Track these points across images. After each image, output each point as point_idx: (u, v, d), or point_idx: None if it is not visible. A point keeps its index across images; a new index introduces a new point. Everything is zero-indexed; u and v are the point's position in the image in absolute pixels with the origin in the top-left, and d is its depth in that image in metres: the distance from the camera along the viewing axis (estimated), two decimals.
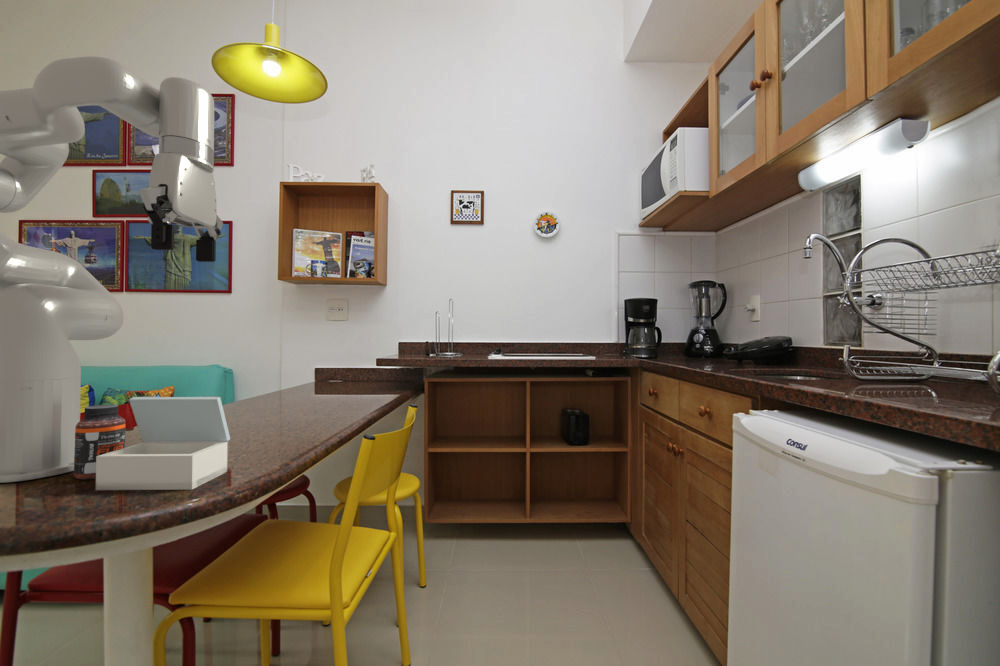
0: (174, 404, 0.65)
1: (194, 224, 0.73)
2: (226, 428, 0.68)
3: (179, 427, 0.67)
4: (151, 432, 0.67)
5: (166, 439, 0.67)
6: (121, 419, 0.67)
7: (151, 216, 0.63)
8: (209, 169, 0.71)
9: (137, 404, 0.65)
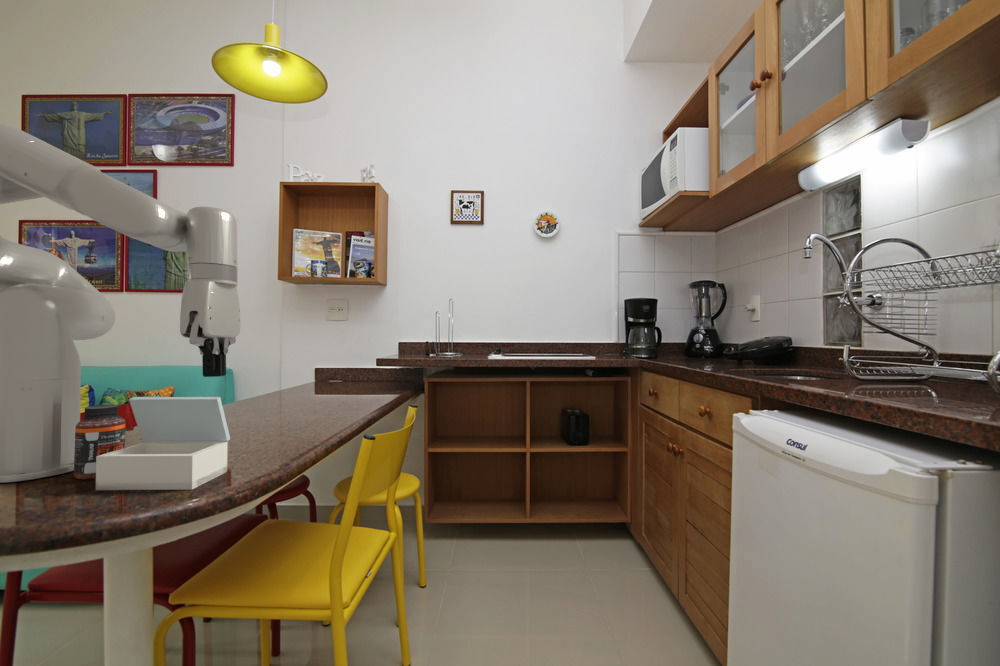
0: (174, 404, 0.65)
1: None
2: (226, 428, 0.68)
3: (179, 427, 0.67)
4: (151, 432, 0.67)
5: (166, 439, 0.67)
6: (121, 419, 0.67)
7: (203, 350, 0.72)
8: (233, 285, 0.76)
9: (137, 404, 0.65)
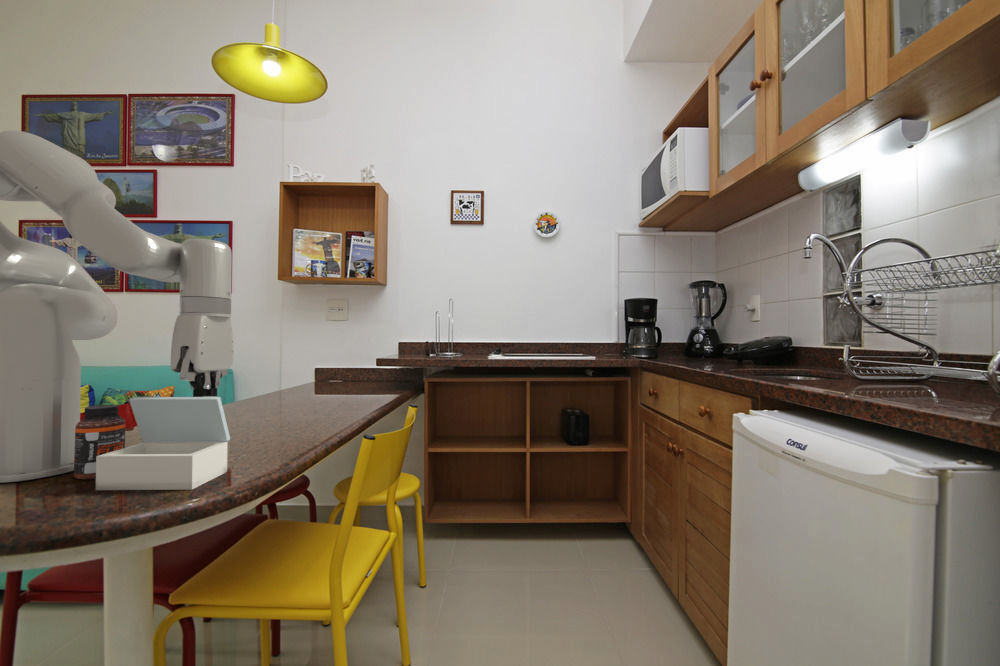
0: (174, 404, 0.65)
1: None
2: (226, 428, 0.68)
3: (179, 427, 0.67)
4: (151, 432, 0.67)
5: (166, 439, 0.67)
6: (121, 419, 0.67)
7: (194, 385, 0.70)
8: (227, 316, 0.74)
9: (137, 404, 0.65)
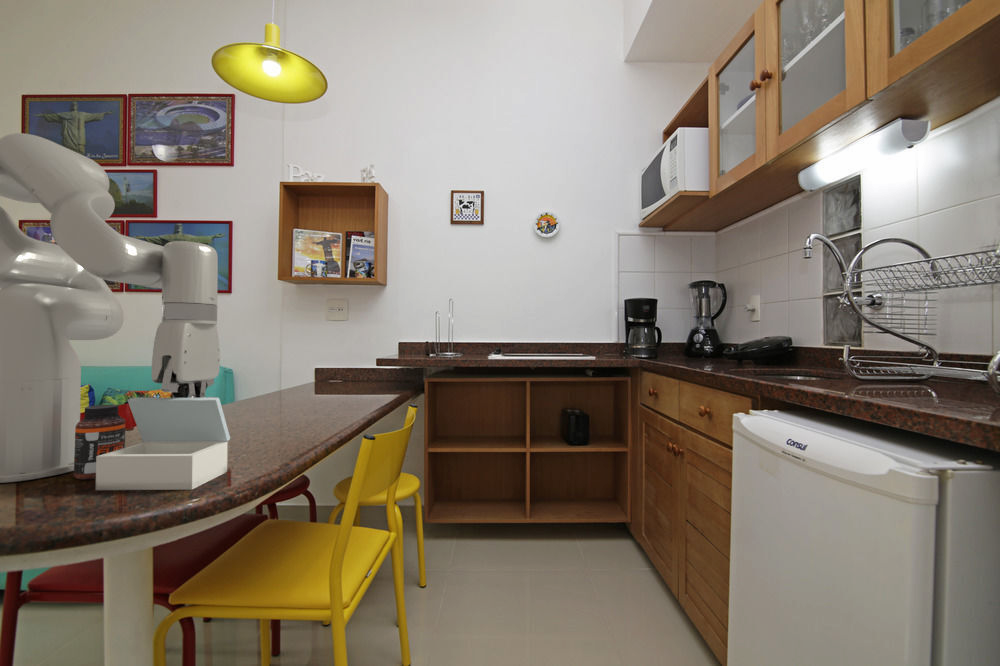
0: (173, 405, 0.65)
1: None
2: (226, 428, 0.68)
3: (178, 428, 0.67)
4: (151, 432, 0.67)
5: (166, 439, 0.67)
6: (121, 419, 0.67)
7: (177, 396, 0.66)
8: (213, 323, 0.71)
9: (136, 405, 0.65)
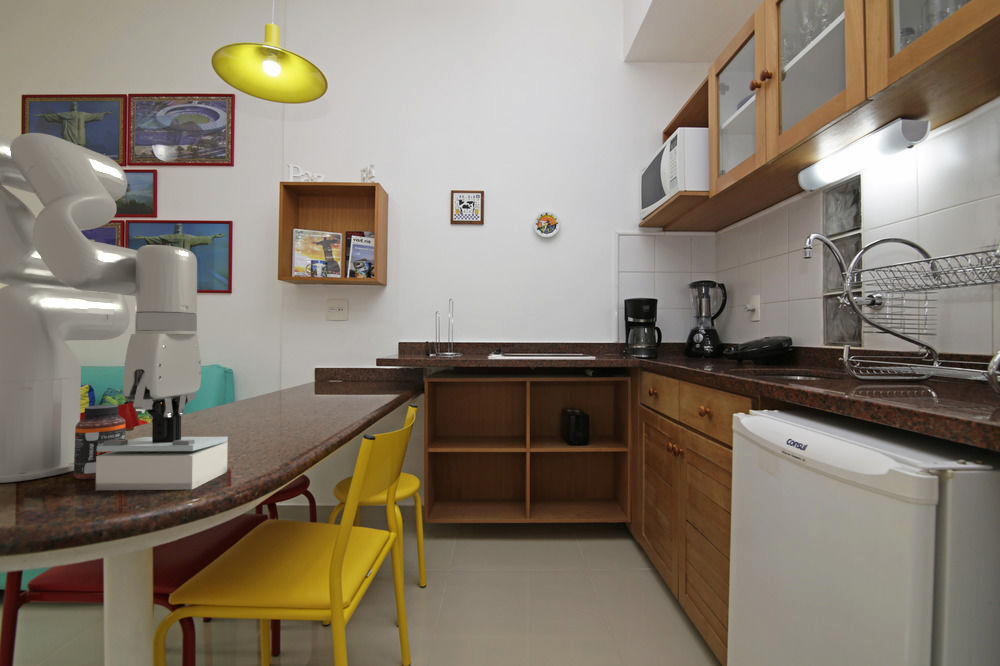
0: None
1: None
2: (218, 440, 0.66)
3: None
4: None
5: None
6: (121, 419, 0.67)
7: (152, 413, 0.61)
8: (192, 333, 0.65)
9: None
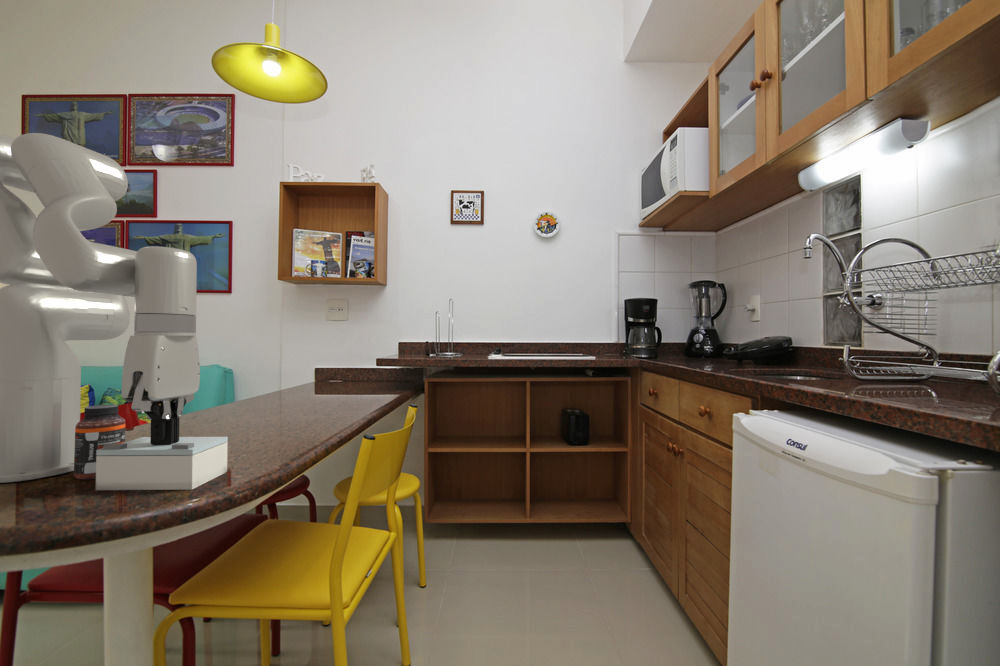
0: None
1: None
2: (218, 441, 0.66)
3: None
4: None
5: None
6: (121, 419, 0.67)
7: (150, 415, 0.61)
8: (191, 335, 0.65)
9: None
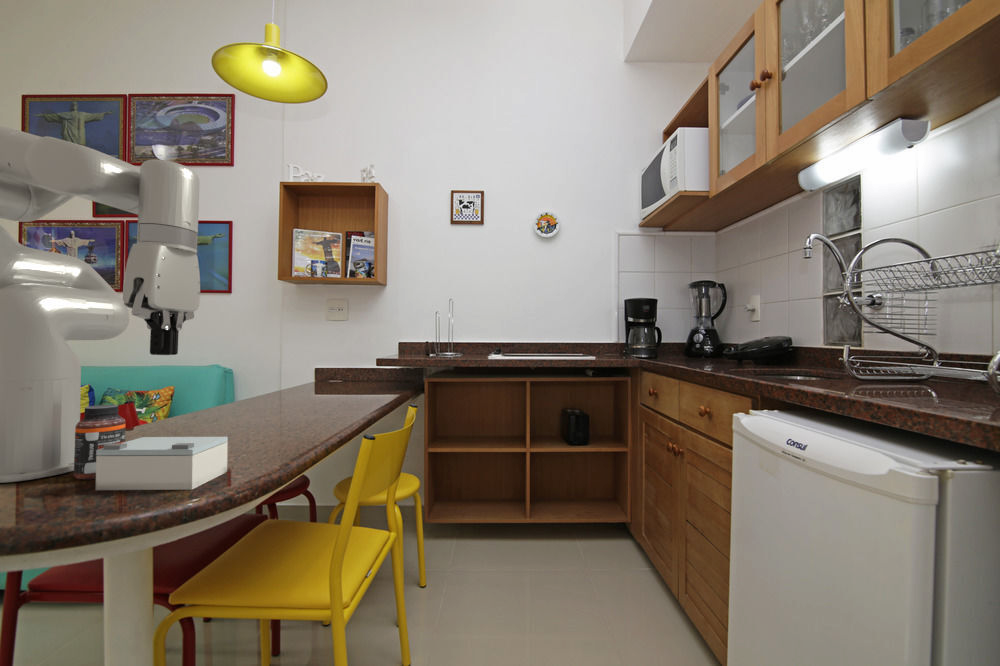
0: None
1: None
2: (218, 441, 0.66)
3: None
4: None
5: None
6: (121, 419, 0.67)
7: (150, 324, 0.63)
8: (192, 252, 0.67)
9: None
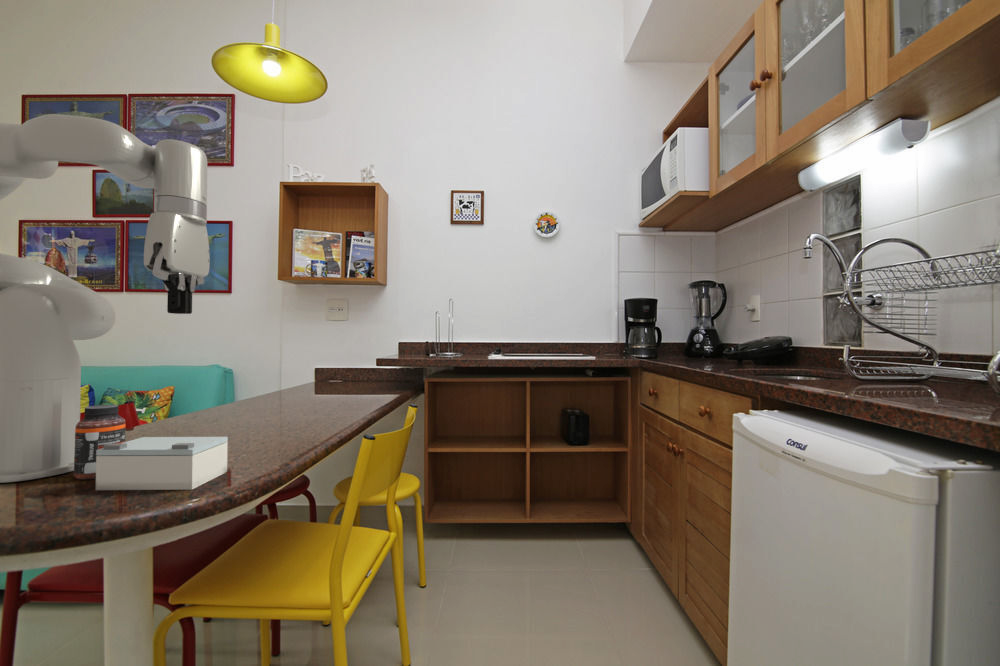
0: None
1: None
2: (218, 441, 0.66)
3: None
4: None
5: None
6: (121, 419, 0.67)
7: (168, 285, 0.71)
8: (202, 223, 0.75)
9: None
